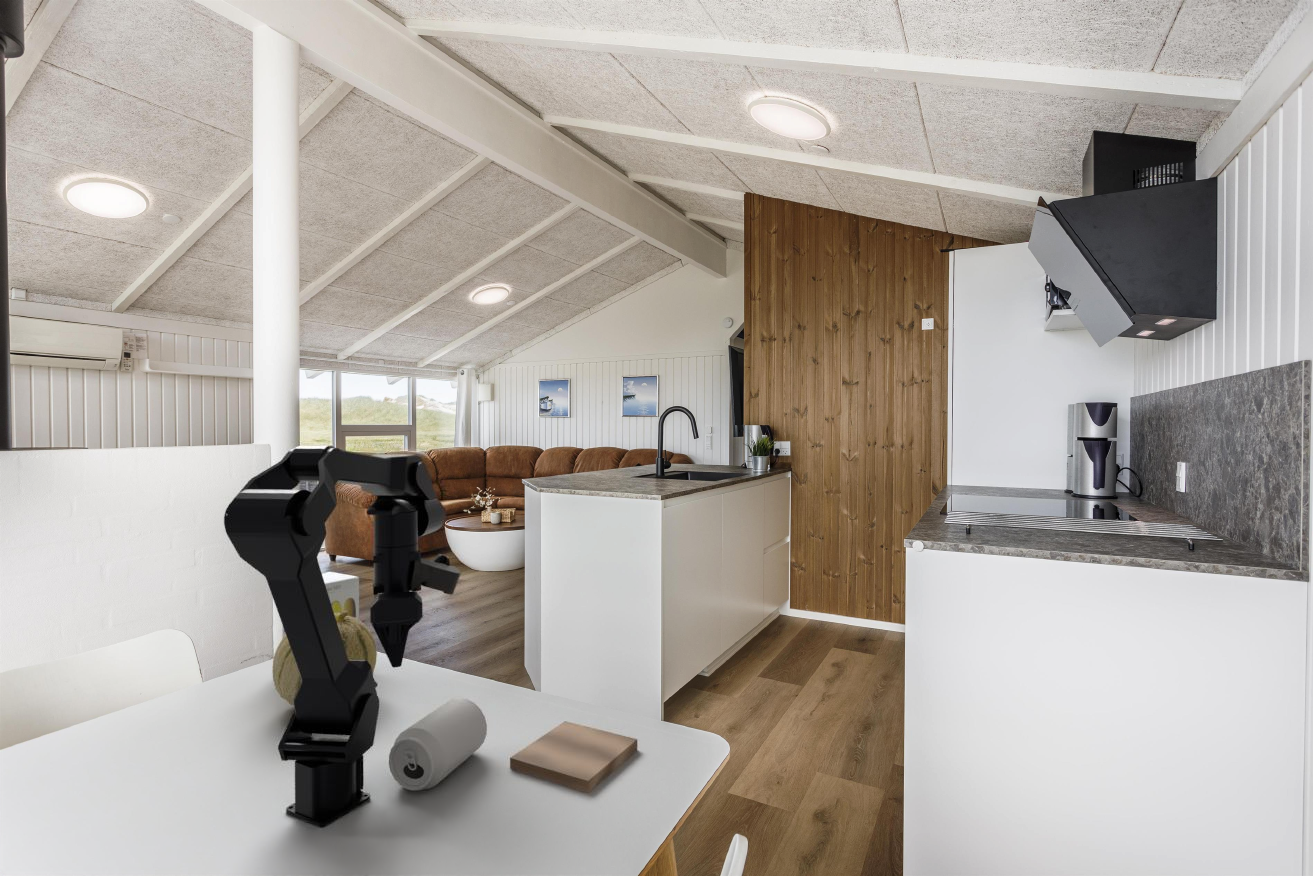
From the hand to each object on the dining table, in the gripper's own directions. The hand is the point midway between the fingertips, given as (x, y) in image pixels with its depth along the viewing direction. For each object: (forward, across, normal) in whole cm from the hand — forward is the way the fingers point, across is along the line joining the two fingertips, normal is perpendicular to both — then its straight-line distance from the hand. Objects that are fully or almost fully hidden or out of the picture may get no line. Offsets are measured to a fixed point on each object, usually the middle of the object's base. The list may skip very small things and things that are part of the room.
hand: (396, 655), depth 92 cm
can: (+8, -6, -9) cm, 14 cm away
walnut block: (+13, -14, -22) cm, 29 cm away
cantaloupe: (+12, +16, +10) cm, 23 cm away
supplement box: (+12, +34, +12) cm, 38 cm away
